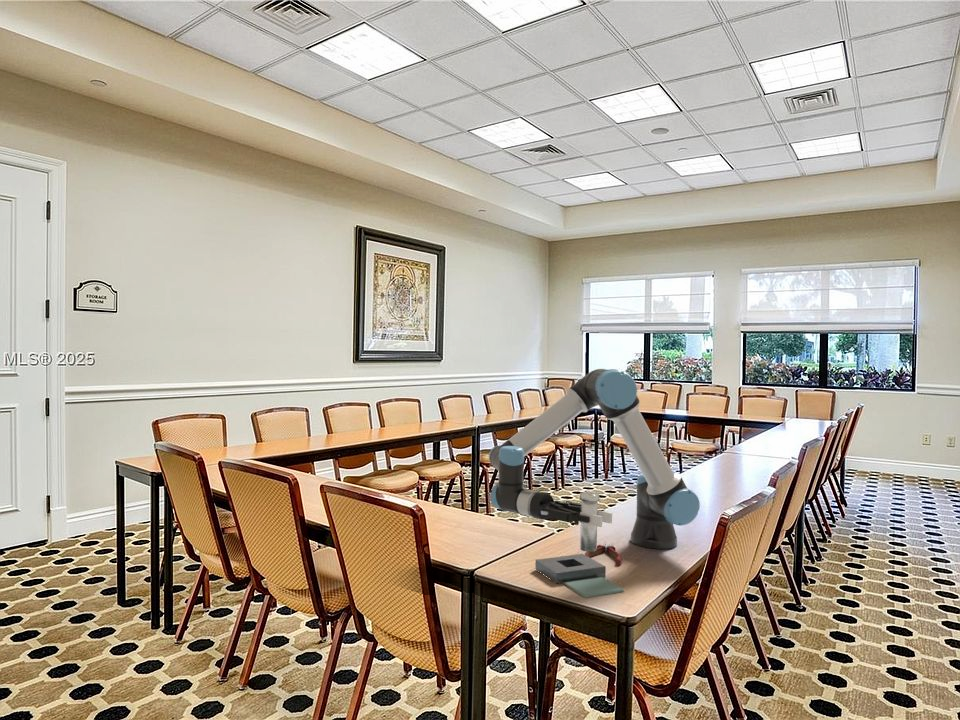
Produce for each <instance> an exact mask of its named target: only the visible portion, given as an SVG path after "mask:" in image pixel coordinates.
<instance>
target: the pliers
mask: <svg viewBox="0 0 960 720" xmlns="http://www.w3.org/2000/svg"><path fill="white" fill-rule="evenodd" d="M616 550H617V549H616V547H615V546H614V542H612V543H609V544H608V545H607V544H606V542H605V541H604V542H603V543H602V545H601V544H597V550H596V551H594V552H586V551H585V553H584V555H586V556H587V557H589V558H590V557H591V558H592V557H593V558H594V557H595V556H598V554H599V555H603V554H605V553H607V554H608V555H609V556H610V557H612V558H613V559H614V560H615V562H616V566H617V567H620V566H621V564H622V562H623V557H622V555H621V554H620V553H618V551H616ZM604 552H605V553H604Z"/></svg>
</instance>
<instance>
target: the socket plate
mask: <svg viewBox="0 0 960 720" xmlns="http://www.w3.org/2000/svg"><path fill="white" fill-rule="evenodd" d="M534 568H535V569H536V570H538V571H539V572H541V573H542V574H544V575H545V576H547V577H548V578H550V579H551V580H552V581H554V582H555V583H562V584H565V582H571V581H577V580H584V579H591V578H598V577H603V578H605V577H606V572H607V571H606V569H607V568H606V565H605V564H602V563H600V562H598V561H596V560H595V559H593V558H592V557H591V558H589V557H587V556H586V555H585V553H584V554H583V553H579V554H571V555H562V556H555V557H554V556H553V557H546V558H539V559H535V567H534ZM535 569H534V570H535ZM536 570H535V571H536ZM538 571H537V572H538ZM539 572H538V573H539ZM541 573H540V574H541ZM542 574H541V575H542ZM544 575H543V576H544ZM545 576H544V577H545ZM547 577H546V578H547ZM548 578H547V579H548ZM550 579H549V580H550ZM551 580H550V581H551ZM552 581H551V582H552ZM554 582H553V583H554ZM555 583H554V584H555Z"/></svg>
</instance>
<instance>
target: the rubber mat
mask: <svg viewBox="0 0 960 720" xmlns="http://www.w3.org/2000/svg"><path fill="white" fill-rule="evenodd" d="M566 585H567V588H569V587H570V588H569V589H571V590H572V591H574V593H577V594H578V595H581V597H583V598H585V599H587V598H593V597H599V596H606V595H611V594H616V593H617V594H618V593H624V589H623V588H622V587H620V586H618V585H616V584H615V583H613V582H611V581H609V580H607V579H606V578H605V577H598V578H591V579H584V580H577V581H571V582H565V583H564V586H566Z"/></svg>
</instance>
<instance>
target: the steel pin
mask: <svg viewBox="0 0 960 720" xmlns="http://www.w3.org/2000/svg"><path fill="white" fill-rule="evenodd" d="M579 500H580V501H581V502H580V504H581V512H584V513H589V514H594V515H597V510H598V507H599V506H598V505H599V504H598V503H599V501H600V494H599V493H597V492H593V491H592V492H591V491H585V492H583V491H582V492H579ZM579 540H580V541H579V542H580V545H579V547H580V550H581V551H582V552H585V553H586V552H594V551H596V550H597V546H598V526H593V525H589V524H585V523H580V538H579Z"/></svg>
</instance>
